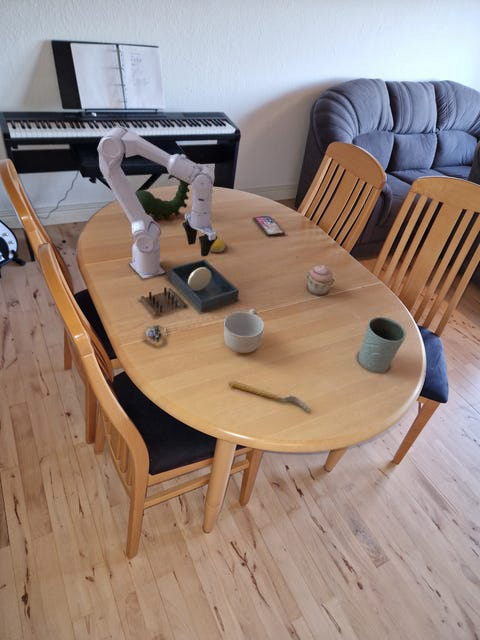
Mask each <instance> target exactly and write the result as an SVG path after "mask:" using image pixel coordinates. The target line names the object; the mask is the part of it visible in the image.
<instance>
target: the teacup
mask: <svg viewBox="0 0 480 640" xmlns="http://www.w3.org/2000/svg"><path fill="white" fill-rule="evenodd" d="M264 330H265V322H264V320H263V319H262V318H261V317H260V316H259V315H257V310H256V309H254V308H251V309H250V310H249V311H235V312H232V313H230V314H228V315H227V316H226V317H225V318H224V320H223V340H224V343H225V345H226V346H227V347H228V348H229V350H232V351H234V352H236V353H238V354H239V353H241V354H246V353H251V352H254V351H255V350H257V349H258V348H259V347H260V345H261V343H262V340H263V334H264Z"/></svg>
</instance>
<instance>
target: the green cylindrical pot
mask: <svg viewBox="0 0 480 640" xmlns="http://www.w3.org/2000/svg"><path fill="white" fill-rule="evenodd" d="M406 337H407V331H406V329H405V327H404V326H402V324H400V323H399V322H397V321H395V320H394V319H391V318H388V317H384V316H382V317H381V316H380V317H379V316H378V317H373V318H371V319H370V320H369V321H368V323H367V326H366V330H365V334H364V336H363V340H362V343H361V346H360V350H359V353H358V361H359V364H360V365H361V366H362V367H364V368H365V369H366V370H368V371H370V372H373V373H383V372H385V371H387V370H388V369H389V367H390V366H391V363H392V361H393V360H394V358H395V356H396V354H397V353H398V351H399V349H400V348H401V346H402V345H403V343H404V341H405V339H406Z"/></svg>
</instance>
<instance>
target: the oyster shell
mask: <svg viewBox="0 0 480 640" xmlns="http://www.w3.org/2000/svg"><path fill="white" fill-rule="evenodd" d="M162 329H163V332H164V333H165V335H168V333H167V332H168V330H167V328H166V327H162V326H161V325H158V324H157V325H153V326H152V327H151V326H147V327H146V329H145V331H144V335H145V336H146V337H148V338H150V340H152V342H156V343H158V342H159V339H160V338H161V336H162V334H161V331H162Z"/></svg>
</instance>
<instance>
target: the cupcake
mask: <svg viewBox="0 0 480 640" xmlns="http://www.w3.org/2000/svg"><path fill="white" fill-rule="evenodd" d="M306 279H307V288H308V290H309V292H310V293H312V294H314V295H317V296H322V295H323V296H324V295H325V294H326V293H328V291H329V289H330V288H331V287H332V285H334V283H335V281H336V280H335V279H334V275H333V271H332V270H331V269H330V268H329V267H328V266H327V265H325V264H324V263H323V264H320V265H316V266H315V267H312V268H311V269H310V271H307V275H306Z"/></svg>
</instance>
